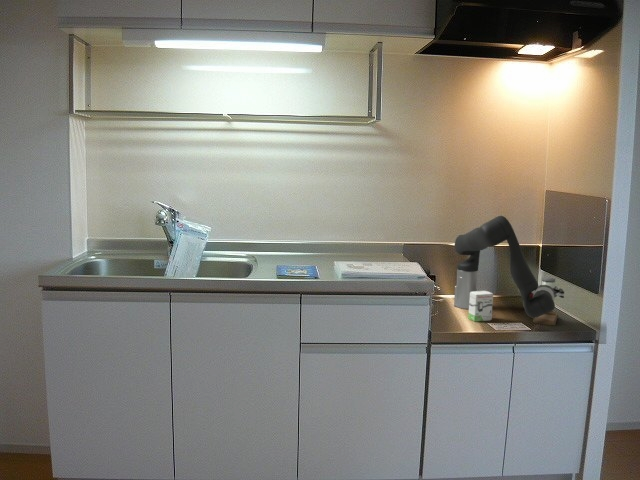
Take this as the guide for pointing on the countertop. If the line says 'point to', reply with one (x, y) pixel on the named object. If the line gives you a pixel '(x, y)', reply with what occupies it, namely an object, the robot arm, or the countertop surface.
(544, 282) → the canister
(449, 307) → the countertop surface
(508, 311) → the countertop surface
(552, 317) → the tray
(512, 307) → the countertop surface
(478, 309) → the ink box
